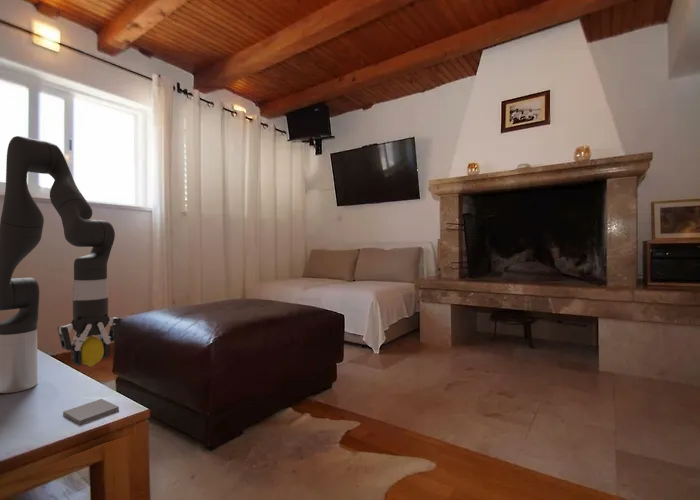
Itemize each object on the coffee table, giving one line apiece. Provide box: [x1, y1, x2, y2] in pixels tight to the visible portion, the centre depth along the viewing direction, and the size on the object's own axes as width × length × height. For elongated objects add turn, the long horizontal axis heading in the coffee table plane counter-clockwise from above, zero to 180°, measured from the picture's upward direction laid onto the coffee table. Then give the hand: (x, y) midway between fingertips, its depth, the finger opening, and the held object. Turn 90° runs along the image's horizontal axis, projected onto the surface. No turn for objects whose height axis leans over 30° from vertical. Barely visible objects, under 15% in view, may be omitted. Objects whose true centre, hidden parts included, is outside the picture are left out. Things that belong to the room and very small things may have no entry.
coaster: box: [62, 398, 120, 426], centre depth 95 cm, size 9×9×1 cm
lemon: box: [80, 335, 104, 368], centre depth 95 cm, size 6×6×8 cm
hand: (91, 360), depth 95 cm, fingers closed on lemon, 5 cm apart
